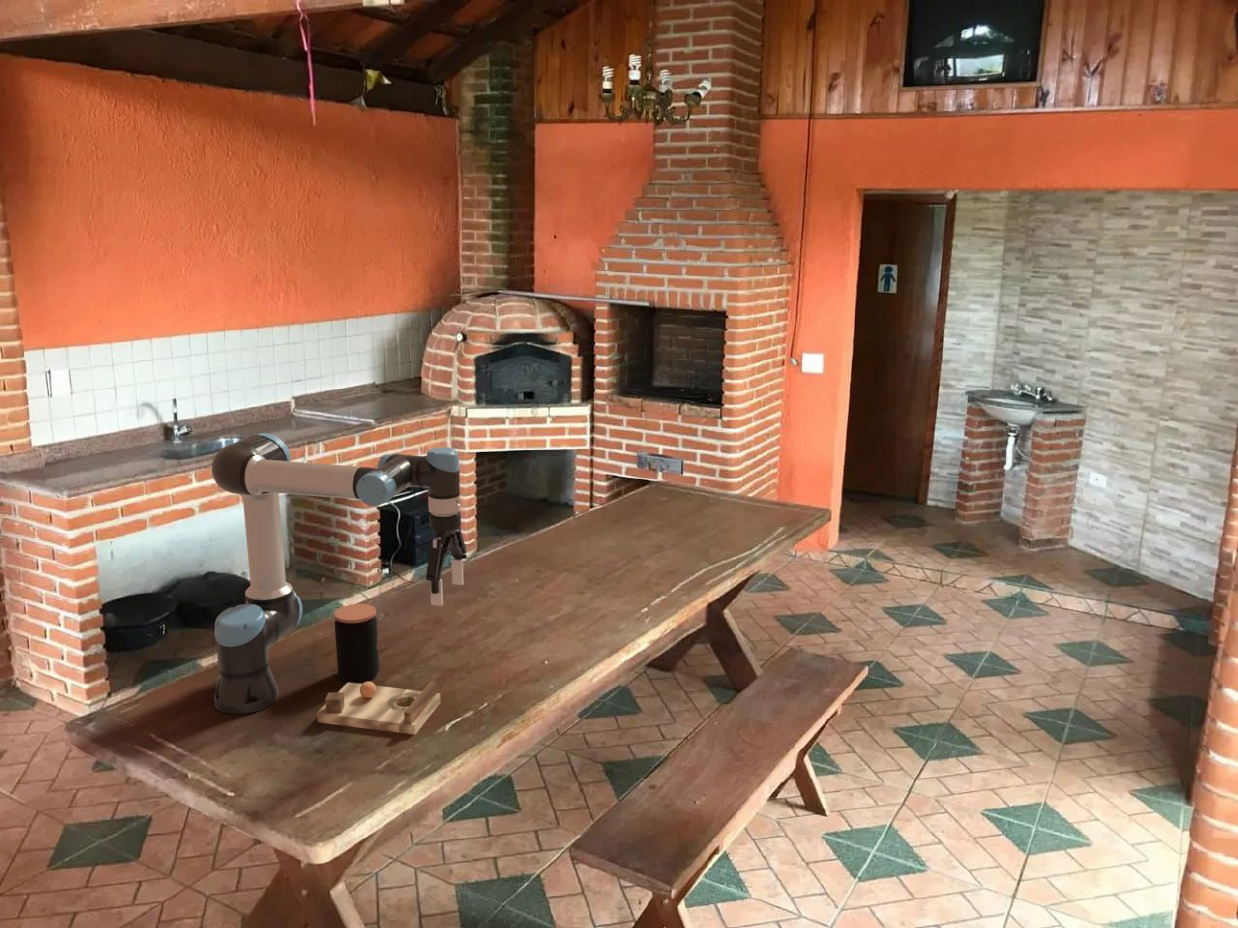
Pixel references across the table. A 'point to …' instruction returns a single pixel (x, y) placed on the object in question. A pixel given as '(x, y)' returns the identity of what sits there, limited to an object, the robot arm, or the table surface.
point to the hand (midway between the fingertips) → (447, 594)
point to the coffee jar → (356, 643)
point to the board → (384, 708)
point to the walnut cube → (334, 702)
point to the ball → (367, 689)
